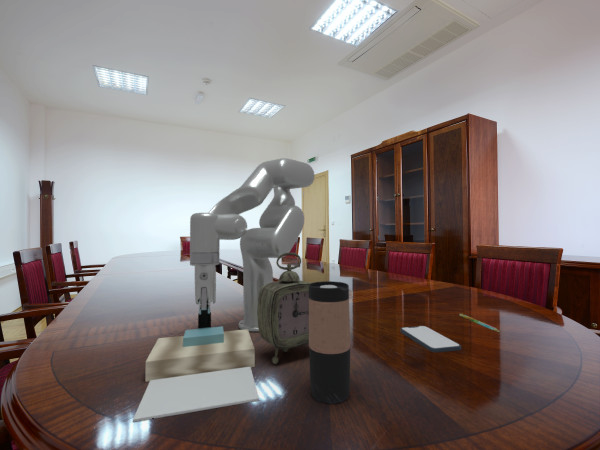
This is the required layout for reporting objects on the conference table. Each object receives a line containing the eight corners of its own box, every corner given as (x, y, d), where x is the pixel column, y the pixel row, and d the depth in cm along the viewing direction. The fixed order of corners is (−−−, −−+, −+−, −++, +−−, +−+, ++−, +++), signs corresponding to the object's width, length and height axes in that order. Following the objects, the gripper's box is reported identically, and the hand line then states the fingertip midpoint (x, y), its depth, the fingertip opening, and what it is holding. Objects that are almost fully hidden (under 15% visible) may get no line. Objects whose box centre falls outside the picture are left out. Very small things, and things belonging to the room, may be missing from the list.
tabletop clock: (271, 369, 64) (270, 254, 64) (254, 355, 71) (253, 252, 72) (324, 354, 71) (322, 252, 72) (304, 342, 79) (303, 250, 80)
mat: (250, 368, 64) (250, 366, 64) (258, 400, 52) (258, 398, 52) (150, 382, 59) (150, 380, 59) (132, 422, 46) (132, 419, 46)
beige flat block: (247, 344, 78) (247, 329, 78) (254, 366, 65) (254, 348, 65) (158, 354, 72) (158, 338, 72) (145, 381, 59) (145, 361, 59)
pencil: (502, 333, 85) (462, 316, 103) (502, 329, 85) (462, 313, 103) (498, 334, 85) (459, 316, 103) (498, 330, 85) (458, 313, 103)
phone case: (464, 352, 73) (425, 330, 89) (464, 346, 73) (425, 325, 89) (432, 355, 71) (398, 332, 87) (432, 349, 71) (398, 327, 87)
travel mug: (307, 383, 57) (306, 281, 58) (345, 381, 58) (343, 280, 59) (312, 406, 50) (310, 288, 50) (356, 403, 50) (354, 287, 51)
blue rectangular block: (223, 334, 75) (223, 326, 75) (223, 342, 69) (223, 333, 69) (185, 338, 72) (185, 329, 72) (183, 347, 66) (183, 338, 66)
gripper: (219, 261, 72) (219, 336, 71) (219, 256, 86) (219, 319, 85) (187, 262, 69) (186, 339, 69) (192, 257, 84) (191, 321, 83)
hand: (204, 328), depth 77 cm, fingers closed
